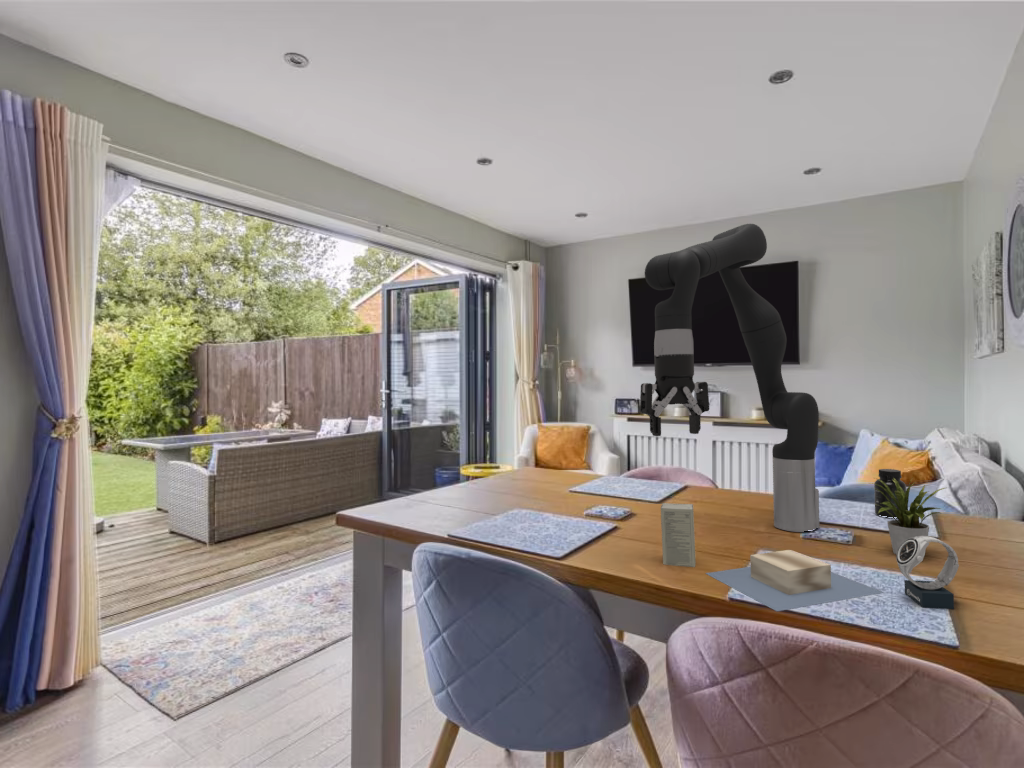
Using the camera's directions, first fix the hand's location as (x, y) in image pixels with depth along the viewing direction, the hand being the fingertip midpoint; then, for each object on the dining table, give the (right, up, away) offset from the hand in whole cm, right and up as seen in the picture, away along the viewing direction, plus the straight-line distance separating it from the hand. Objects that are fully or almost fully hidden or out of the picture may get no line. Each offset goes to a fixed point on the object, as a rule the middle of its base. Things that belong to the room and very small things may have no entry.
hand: (675, 434), depth 109 cm
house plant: (+48, -25, +5) cm, 55 cm away
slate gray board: (+17, -26, -12) cm, 33 cm away
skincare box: (+1, -26, 0) cm, 27 cm away
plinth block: (+17, -25, -12) cm, 32 cm away
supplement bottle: (+67, -25, +34) cm, 79 cm away
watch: (+34, -26, -21) cm, 48 cm away
